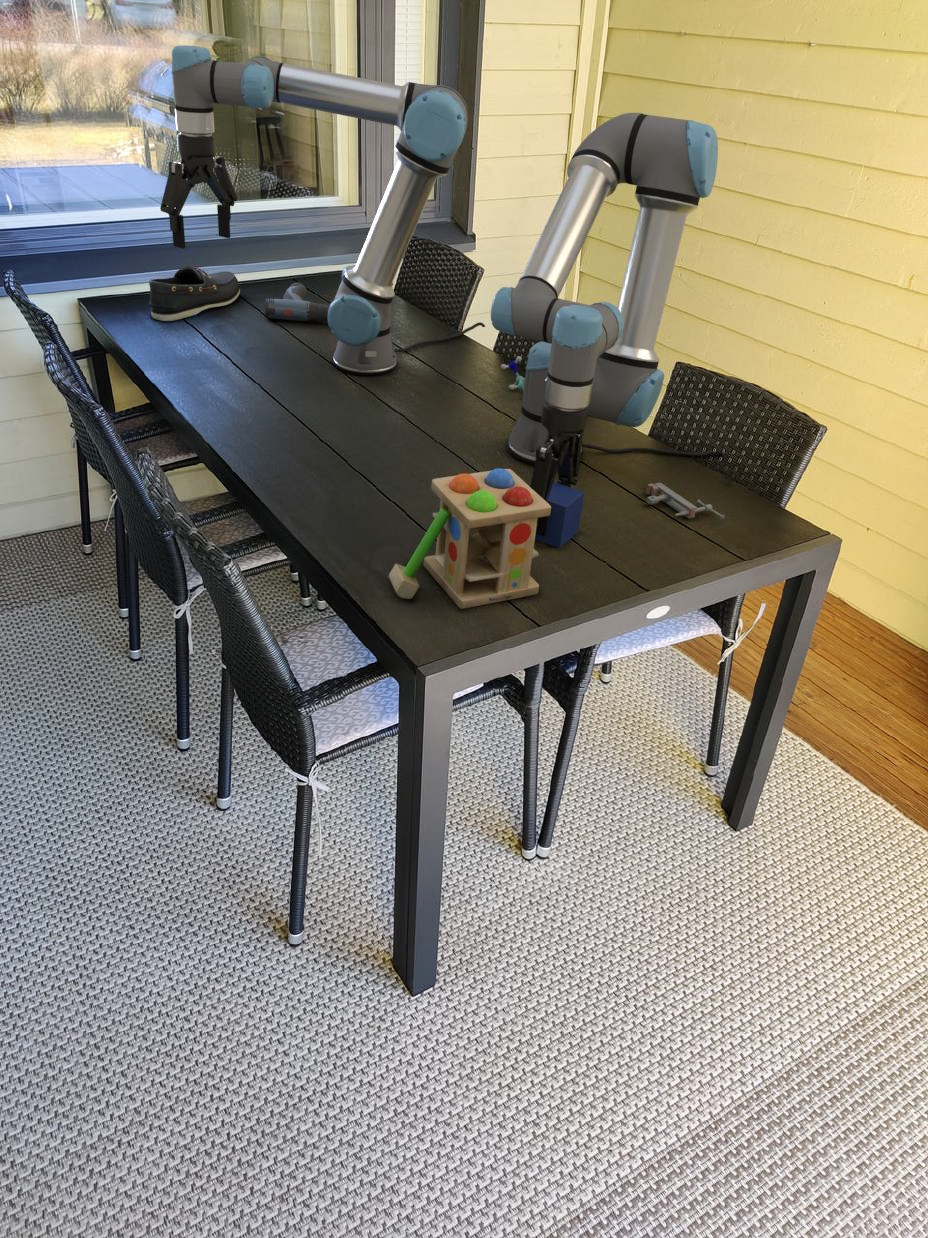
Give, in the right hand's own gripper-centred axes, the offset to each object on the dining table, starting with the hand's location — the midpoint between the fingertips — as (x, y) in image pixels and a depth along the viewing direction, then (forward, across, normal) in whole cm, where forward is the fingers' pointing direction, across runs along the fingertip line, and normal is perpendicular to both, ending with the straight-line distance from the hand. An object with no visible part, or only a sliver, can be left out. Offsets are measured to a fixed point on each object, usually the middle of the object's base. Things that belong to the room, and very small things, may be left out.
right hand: (548, 524), depth 175 cm
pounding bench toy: (+2, +25, -3) cm, 25 cm away
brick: (+2, 0, 0) cm, 2 cm away
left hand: (-27, -18, -98) cm, 103 cm away
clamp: (+2, -24, +16) cm, 29 cm away
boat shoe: (+2, -49, -133) cm, 142 cm away
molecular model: (+2, -57, -36) cm, 67 cm away
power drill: (+2, -66, -109) cm, 127 cm away
